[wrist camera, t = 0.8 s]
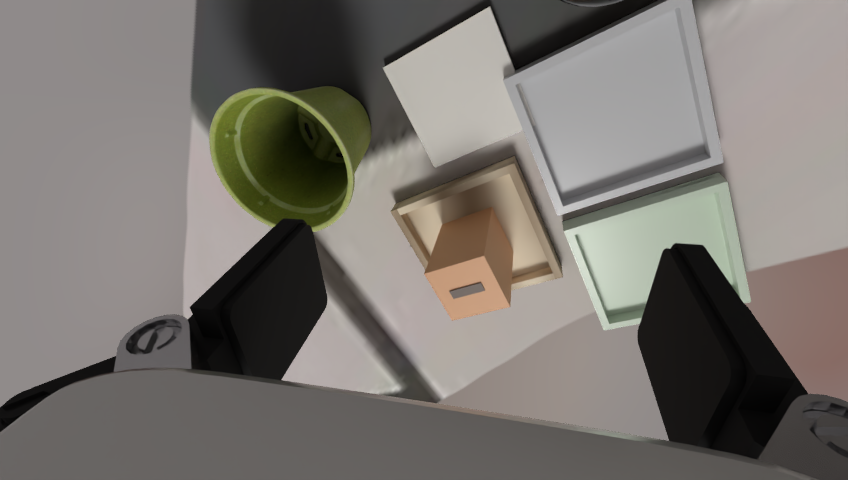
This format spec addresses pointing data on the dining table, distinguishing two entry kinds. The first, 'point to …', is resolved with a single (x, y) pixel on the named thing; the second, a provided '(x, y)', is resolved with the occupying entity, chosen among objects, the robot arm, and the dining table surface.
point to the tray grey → (619, 108)
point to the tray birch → (477, 193)
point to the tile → (458, 89)
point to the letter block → (472, 265)
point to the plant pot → (290, 152)
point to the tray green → (652, 244)
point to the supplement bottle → (590, 2)
